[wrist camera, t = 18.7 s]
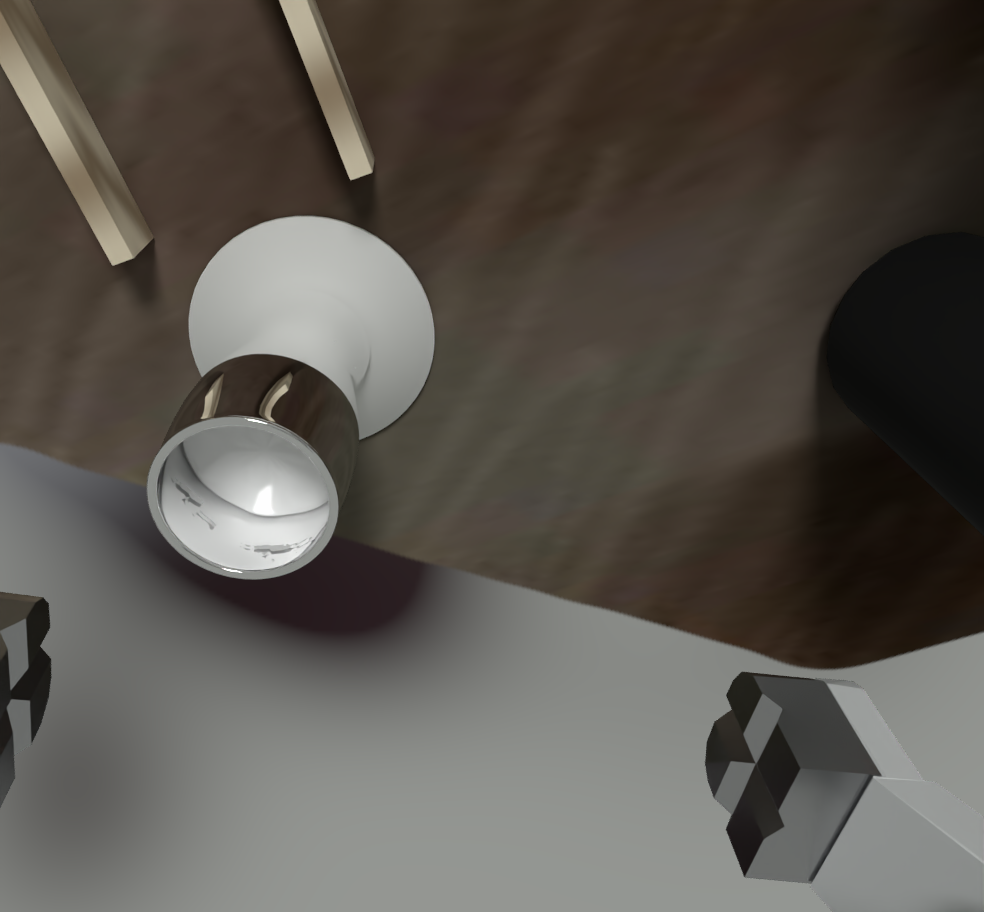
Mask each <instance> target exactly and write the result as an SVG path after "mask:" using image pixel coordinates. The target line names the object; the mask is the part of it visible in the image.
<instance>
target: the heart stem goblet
mask: <svg viewBox="0 0 984 912" xmlns="http://www.w3.org/2000/svg"><path fill="white" fill-rule="evenodd" d="M369 359H370V346H369V340H368V336H367V333H366V331H365V328H364V326H363V324H362V323H361V321H360V319H359V318H358V316H357V315H356V314H355V313H354V312H353V311H352V309H350V308H349V307H348V306H347V305H346V304H345V303H343V302H342V301H340V300H339V299H337V298H335V297H333V296H331V295H329V294H326V293H323V292H320V291H316V290H308V289H297V290H291V291H286V292H283V293H280V294H278V295H276V296H274V297H272V298H270V299H269V300H267V301H266V302H265V303H263V304H262V305H261V306H260V307H259V308H258V310H257V311H256V312H255V314H254V315H253V317H252V319H251V321H250V323H249V325H248V328H247V331H246V336H245V343H244V345H243V346H241V347H239V348H238V349H236V350H235V351H234V352H232V353H231V354H229V355H228V356H226V357H225V358H224V359H222V360H221V361H220V362H219V363H217V364H216V365H215V366H214V367H213V368H212V369H211V370H209V371H208V372H207V373H206V374H205V375H204V376H203V377H202V378H201V379H200V381H199V382H198V383H197V384H196V386H195V387H194V388H193V390H192V391H191V392H190V393H189V395H188V396H187V397H186V399H185V400H184V402H183V404H182V405H181V407H180V409H179V411H178V412H177V414H176V416H175V417H174V419H173V421H172V423H171V426H170V428H169V430H168V432H167V434H166V436H165V438H164V441H163V443H162V445H161V448H160V450H159V451H158V452H157V454H156V456H155V458H154V460H153V462H152V464H151V467H150V470H149V474H148V479H147V500H148V505H149V509H150V512H151V515H152V517H153V520H154V522H155V524H156V525H157V527H158V529H159V531H160V532H161V533H162V535H163V536H164V538H165V539H166V540H167V541H168V542H169V543H170V545H171V546H172V547H173V548H174V549H175V550H177V551H178V552H179V553H180V554H181V555H183V556H184V557H185V558H187V559H188V560H190V561H191V562H193V563H195V564H196V565H198V566H200V567H202V568H204V569H206V570H209V571H211V572H214V573H217V574H220V575H224V576H228V577H233V578H240V579H267V578H273V577H278V576H281V575H285V574H288V573H291V572H293V571H295V570H297V569H299V568H301V567H303V566H305V565H306V564H307V563H309V562H310V561H312V560H313V559H314V558H315V557H317V556H318V554H319V553H321V551H322V550H323V549H324V548H325V546H326V545H327V544H328V542H329V541H330V539H331V537H332V535H333V533H334V530H335V528H336V524H337V520H338V516H339V514H340V512H341V509H342V507H343V504H344V502H345V499H346V496H347V494H348V491H349V488H350V485H351V481H352V477H353V474H354V470H355V466H356V460H357V454H358V447H359V418H358V410H357V404H356V397H355V392H354V391H355V390H356V388H357V387H358V386H359V384H360V383H361V381H362V380H363V378H364V376H365V373H366V371H367V368H368V364H369Z"/></svg>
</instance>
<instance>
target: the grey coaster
mask: <svg viewBox="0 0 984 912" xmlns="http://www.w3.org/2000/svg"><path fill="white" fill-rule="evenodd" d="M297 289H308V290H316V291H320V292H323V293H326V294H329V295H331V296H333V297H335V298H337V299H339V300H340V301H342V302H343V303H345V304H346V305H347V306H348V307H349V308H350V309H352V311H353V312H354V313H355V314H356V315H357V316H358V318H359V319H360V321H361V323H362V324H363V326H364V328H365V331H366V333H367V336H368V340H369V346H370V359H369V364H368V368H367V371H366V373H365V376H364V378H363V380H362V381H361V383H360V384H359V386H358V387H357V388H356V390H355V391H354V392H355V397H356V404H357V410H358V418H359V440H360V439H363V438H365V437H368V436H370V435H373V434H375V433H376V432H378V431H380V430H382V429H383V428H385V427H387V426H388V425H389V424H391V423H392V422H394V421H395V420H396V419H398V418H399V417H400V416H401V415H402V414H403V413H404V412H405V411H406V410H407V409H408V408H409V406H410V405H411V404H412V403H413V401H414V400H415V399H416V398H417V396H418V394H419V392H420V391H421V389H422V387H423V386H424V383H425V381H426V379H427V376H428V374H429V371H430V367H431V363H432V360H433V353H434V344H435V343H434V324H433V317H432V311H431V308H430V305H429V302H428V298H427V296H426V294H425V291H424V289H423V287H422V285H421V283H420V281H419V280H418V278H417V276H416V275H415V273H414V272H413V270H412V269H411V267H410V266H409V265H408V264H407V263H406V261H405V260H404V259H403V258H402V257H401V256H400V255H399V254H398V253H397V252H396V251H395V250H394V249H393V248H392V247H391V246H389V245H388V244H387V243H385V242H384V241H383V240H381V239H380V238H378V237H377V236H375V235H374V234H372V233H370V232H368V231H366V230H364V229H363V228H360V227H358V226H355V225H353V224H350V223H348V222H345V221H341V220H337V219H333V218H329V217H321V216H312V215H309V216H289V217H282V218H277V219H273V220H270V221H266V222H263V223H260V224H258V225H256V226H253V227H251V228H249V229H247V230H245V231H244V232H242V233H240V234H239V235H237V236H236V237H234V238H233V239H232V240H230V241H229V242H228V243H227V244H226V245H224V246H223V247H222V248H221V249H220V250H219V251H218V253H217V254H216V255H215V256H214V257H213V258H212V259H211V261H210V262H209V264H208V265H207V267H206V268H205V270H204V271H203V273H202V274H201V277H200V279H199V281H198V283H197V285H196V288H195V290H194V294H193V297H192V301H191V305H190V313H189V337H190V343H191V349H192V353H193V356H194V359H195V363H196V365H197V367H198V370H199V372H200V374H201V376H202V377H203V376H204V375H205V374H206V373H207V372H208V371H209V370H211V369H212V368H213V367H214V366H215V365H216V364H217V363H219V362H220V361H221V360H222V359H224V358H225V357H226V356H228V355H229V354H231V353H232V352H234V351H235V350H236V349H238V348H239V347H241V346H243V345H244V343H245V336H246V331H247V328H248V325H249V323H250V321H251V319H252V317H253V315H254V314H255V312H256V311H257V310H258V308H259V307H260V306H261V305H262V304H263V303H265V302H266V301H267V300H269V299H270V298H272V297H274V296H276V295H278V294H280V293H283V292H286V291H291V290H297Z"/></svg>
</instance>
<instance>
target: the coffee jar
mask: <svg viewBox="0 0 984 912" xmlns="http://www.w3.org/2000/svg"><path fill="white" fill-rule="evenodd" d="M827 362H828V366H829V371H830V375H831V379H832V383H833V387H834V389H835V390H836V391H837V393H838V394H839V396H840V397H841V398H842V400H843V401H844V403H845V404H846V405H847V407H848V408H849V409H850V410H851V411H852V412H853V413H854V414H855V415H856V416H857V417H858V418H860V419H861V420H862V421H863V422H864V423H865V424H866V425H867V426H868V427H869V428H870V429H871V430H872V431H873V432H874V433H875V434H876V435H878V436H879V437H880V438H881V439H882V440H883V441H884V442H885V443H886V444H887V445H888V446H889V447H890V448H891V449H892V450H893V451H894V452H896V453H897V454H898V455H899V456H900V457H901V458H902V459H903V460H904V461H905V462H906V463H907V464H908V465H909V466H910V467H911V468H912V469H914V470H915V471H916V472H917V473H918V474H919V475H920V476H921V477H922V478H923V479H924V480H925V481H926V482H927V483H928V484H929V485H930V486H931V487H933V488H934V489H935V490H936V491H937V492H938V493H939V494H940V495H941V496H942V497H943V498H944V499H945V500H946V501H947V502H948V503H949V504H951V505H952V506H953V507H954V508H955V509H956V510H957V511H958V512H959V513H960V514H961V515H962V516H963V517H964V518H965V519H966V520H967V521H969V522H970V523H971V524H972V525H973V526H974V527H975V528H976V529H977V530H978V531H979V532H980V533H981V534H982V535H983V536H984V237H980V236H976V235H972V234H968V233H963V232H957V233H948V234H938V235H928V236H924V237H922V238H919V239H917V240H915V241H912V242H910V243H907V244H905V245H902V246H900V247H898V248H895V249H893V250H891V251H890V252H889V253H887V254H886V255H885V256H883V257H882V258H881V259H879V260H878V261H877V262H875V263H874V264H873V265H871V266H870V267H869V268H868V269H866V270H865V271H864V272H863V273H862V274H861V275H860V276H859V278H858V279H857V280H856V281H855V283H854V284H853V285H852V287H851V288H850V289H849V290H848V292H847V293H846V294H845V295H844V297H843V299H842V301H841V303H840V306H839V308H838V310H837V313H836V315H835V317H834V320H833V322H832V324H831V326H830V333H829V341H828V350H827Z"/></svg>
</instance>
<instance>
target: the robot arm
mask: <svg viewBox="0 0 984 912" xmlns="http://www.w3.org/2000/svg"><path fill="white" fill-rule="evenodd" d="M49 629H50V615H49V603H48V602H47V601H46V600H45V599H44V598H43V597H36V596H28V595H20V594H12V593H5V592H0V807H1V805H2V803H3V801H4V799H5V797H6V795H7V793H8V791H9V789H10V787H11V785H12V783H13V781H14V779H15V768H14V756H15V755H16V754H18V753H19V752H21V751H22V750H24V749H26V748H27V747H29V746H30V745H31V744H32V742H33V740H34V738H35V736H36V734H37V731H38V729H39V727H40V725H41V723H42V719H43V716H44V712H45V709H46V705H47V702H48V698H49V692H50V684H51V658H50V657H49V656H48V655H47V654H46V653H45V651H43V649H42V648H41V647H40V645H41V644H42V642H43V640H44V638H45V636H46V634H47V633H48V631H49ZM726 696H727V699H728V701H729V704H730V706H731V709H732V710H731V711H729V712H728V713H726V714H725V715H723V716H722V717H721V718H719V719H718V720H716V721H715V722H714V724H713V727H712V730H711V732H710V735H709V737H708V740H707V746H706V759H705V766H706V773H707V779H708V783H709V786H710V788H711V791H712V794H713V797H714V799H715V800H717V801H718V802H719V803H720V804H721V805H722V806H723V807H724V808H725V809H726V810H727V811H728V812H730V813H731V814H732V815H731V818H730V820H729V822H728V825H727V827H726V831H727V834H728V836H729V839H730V841H731V844H732V846H733V849H734V852H735V854H736V857H737V859H738V861H739V864H740V867H741V870H742V872H743V875H744V877H747V878H756V879H768V880H778V881H789V882H801V883H811V886H810V888H811V889H812V890H813V891H814V892H815V893H816V894H817V895H818V896H819V897H820V898H821V900H822V901H823V902H824V903H825V904H826V905H827V906H828V907H829V908H830V910H831V911H832V912H984V817H983V816H982V815H980V814H979V813H977V812H976V811H975V810H973V809H972V808H970V807H969V806H968V805H967V804H965V803H964V802H962V801H961V800H960V799H958V798H957V797H955V796H954V795H953V794H951V793H950V792H949V791H947V790H946V789H944V788H943V787H941V786H940V785H939V784H938V783H936V782H931V781H924V780H923V779H922V777H921V775H920V774H919V773H918V771H917V769H916V768H915V766H914V765H913V763H912V762H911V760H910V759H909V757H908V756H907V754H906V753H905V751H904V750H903V748H902V747H901V745H900V744H899V742H898V741H897V739H896V737H895V736H894V734H893V733H892V731H891V730H890V729H889V727H888V725H887V724H886V722H885V721H884V719H883V718H882V717H881V715H880V713H879V712H878V710H877V709H876V707H875V706H874V704H873V702H872V701H871V699H870V698H869V697H868V695H867V694H866V692H865V690H864V689H863V688H862V687H861V686H859V685H858V684H856V683H855V682H853V681H844V680H832V679H820V678H816V679H809V678H799V677H789V676H778V675H769V674H758V673H749V672H741V673H740V674H739V675H738V676H737V677H736V678H735V679H734V680H733V682H732V684H731V686H730V688H729V690H728V692H727V695H726Z"/></svg>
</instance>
